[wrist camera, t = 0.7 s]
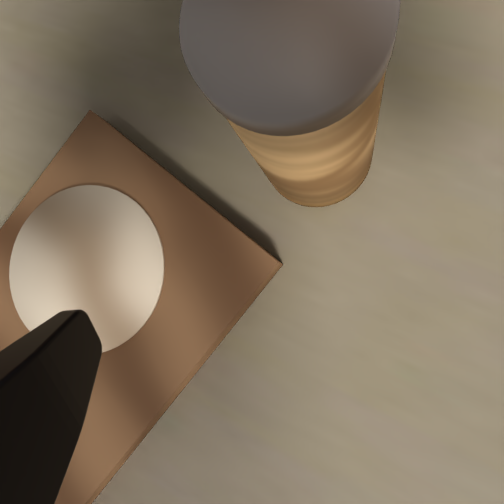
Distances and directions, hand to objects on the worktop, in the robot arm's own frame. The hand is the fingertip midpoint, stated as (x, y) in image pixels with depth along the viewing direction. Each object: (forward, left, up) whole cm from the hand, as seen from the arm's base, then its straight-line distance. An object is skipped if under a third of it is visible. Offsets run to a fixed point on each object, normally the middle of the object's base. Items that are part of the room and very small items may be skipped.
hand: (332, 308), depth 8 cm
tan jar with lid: (+5, +5, -13) cm, 15 cm away
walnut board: (-8, +9, -13) cm, 18 cm away
